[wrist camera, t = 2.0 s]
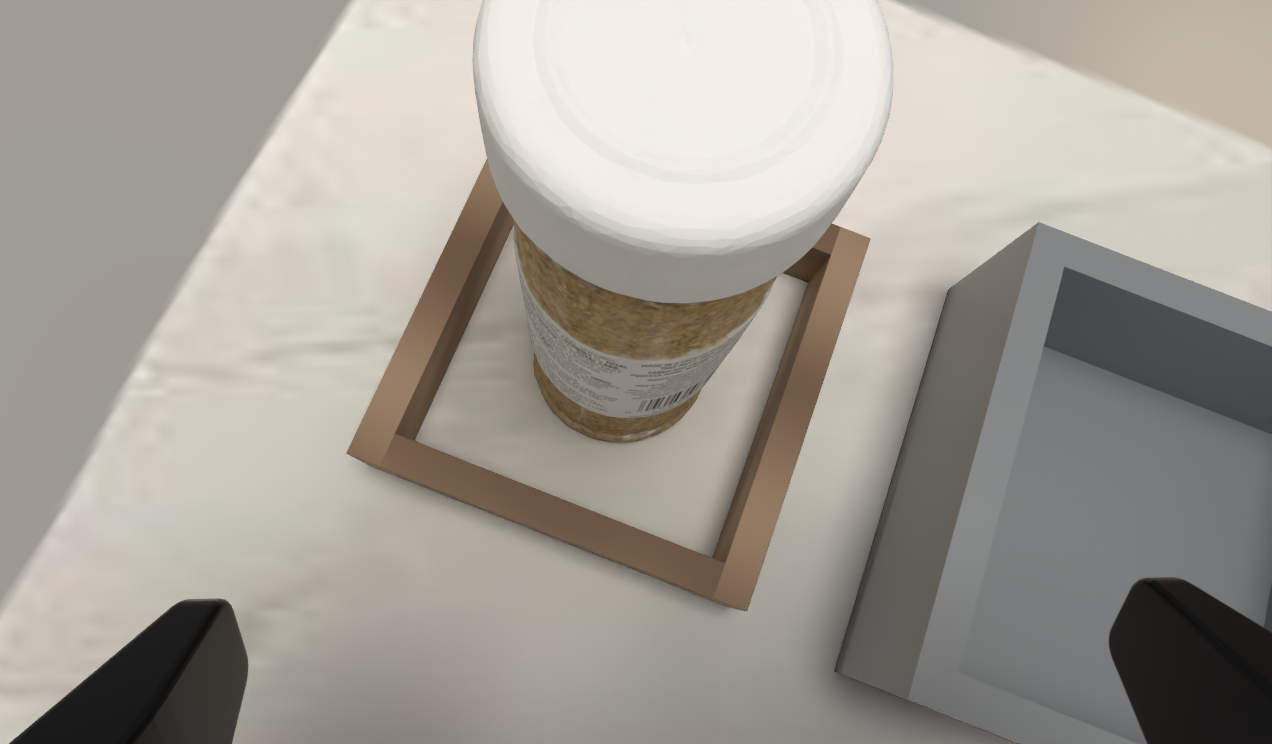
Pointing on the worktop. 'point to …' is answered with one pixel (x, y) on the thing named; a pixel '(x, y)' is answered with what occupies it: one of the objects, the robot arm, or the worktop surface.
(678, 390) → the sprinkles bottle
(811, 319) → the walnut holder
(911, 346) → the worktop surface
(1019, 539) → the grey bin
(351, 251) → the worktop surface
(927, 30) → the worktop surface
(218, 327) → the worktop surface
